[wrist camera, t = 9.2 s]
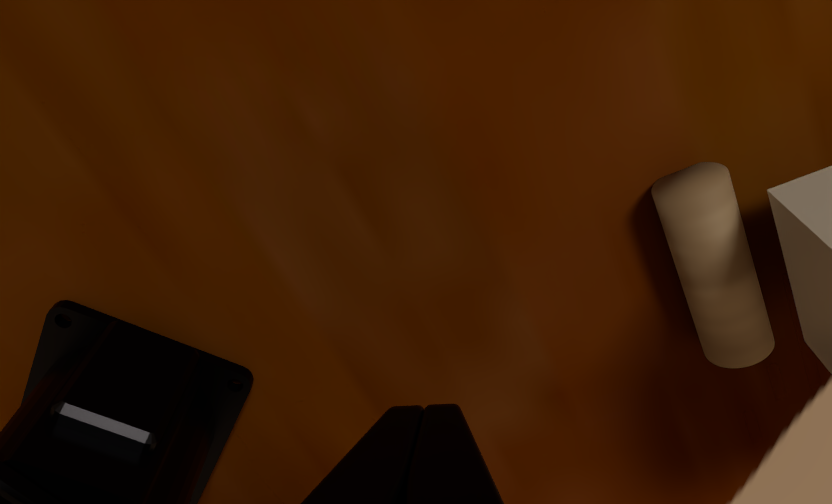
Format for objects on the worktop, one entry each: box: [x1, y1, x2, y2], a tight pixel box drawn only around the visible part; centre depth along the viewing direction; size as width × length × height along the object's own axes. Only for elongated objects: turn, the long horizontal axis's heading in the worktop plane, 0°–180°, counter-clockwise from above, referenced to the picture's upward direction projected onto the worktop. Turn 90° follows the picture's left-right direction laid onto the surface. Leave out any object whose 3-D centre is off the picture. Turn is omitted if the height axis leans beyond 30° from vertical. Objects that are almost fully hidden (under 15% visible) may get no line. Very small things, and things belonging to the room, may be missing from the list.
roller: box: [651, 162, 775, 368], centre depth 20 cm, size 6×2×2 cm
